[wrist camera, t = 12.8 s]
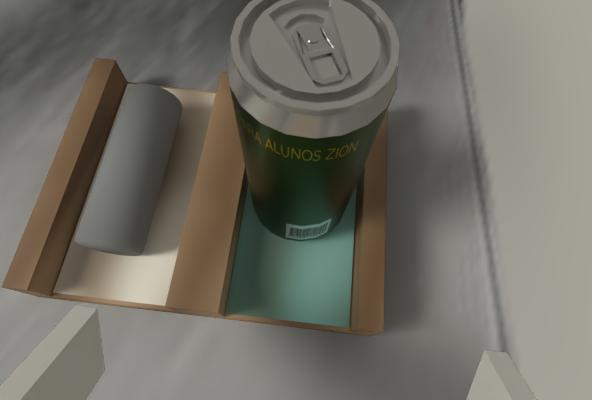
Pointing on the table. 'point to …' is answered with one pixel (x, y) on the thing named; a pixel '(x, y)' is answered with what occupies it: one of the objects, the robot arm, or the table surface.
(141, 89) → the smooth gray cylinder
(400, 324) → the table surface
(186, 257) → the caddy
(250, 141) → the beer can
